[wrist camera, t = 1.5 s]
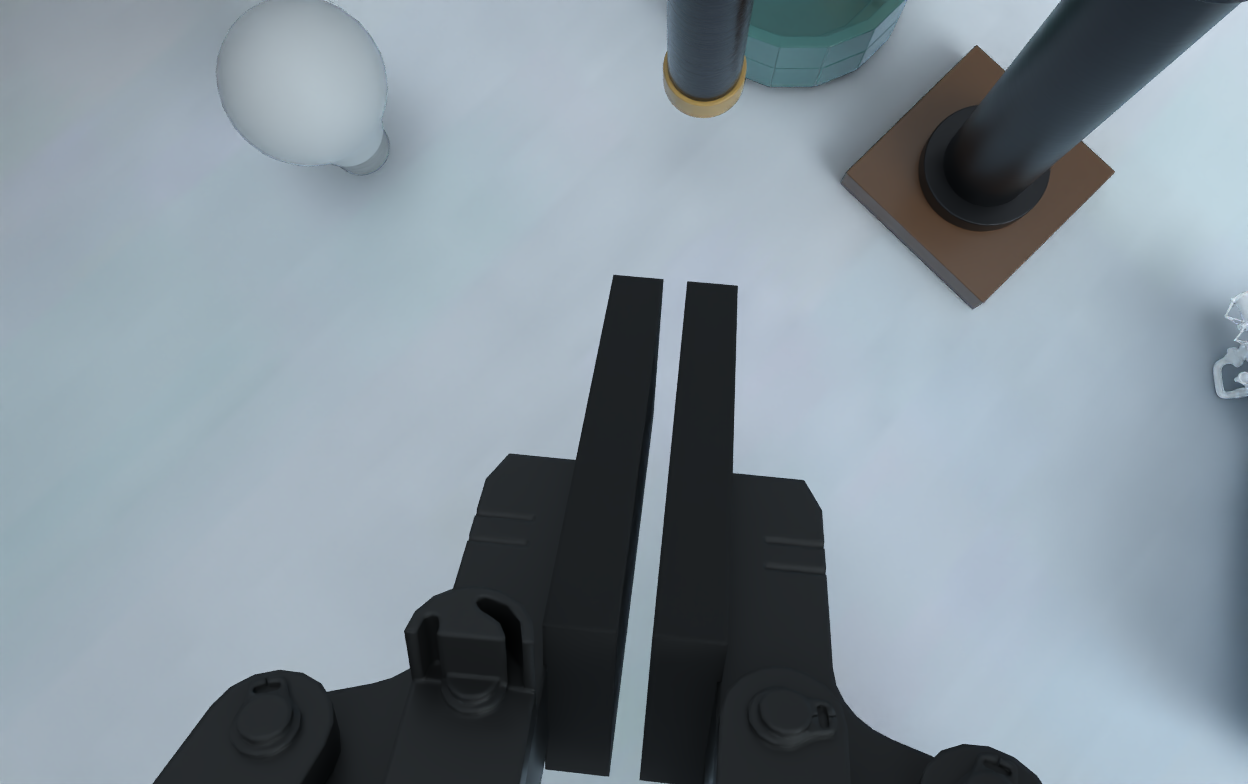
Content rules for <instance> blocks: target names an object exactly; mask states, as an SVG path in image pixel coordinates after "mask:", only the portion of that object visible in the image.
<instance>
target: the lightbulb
mask: <svg viewBox="0 0 1248 784" xmlns="http://www.w3.org/2000/svg"><path fill="white" fill-rule="evenodd" d="M216 77H217V87H218V92H219V96H220V99H221V102H222V105H223V108H224V110H225V112H226V113H227V115H228V117H229V119H230V121H231V122H232V124H233V126H234V128H235V129H236V130H237V131H238V132H239V133H240V135H241V136H242V137H243V138H244V139H245V140H246V141H247V142H249V143H250V144H251V145H252V146H254V147H255V148H256V149H258V150H259V151H260V152H262V153H263V154H265V155H267V156H269V157H271V158H274V159H276V160H279V161H283V162H286V163H290V164H294V165H298V166H318V165H325V164H330V163H331V164H333V165H337V166H340V167H341V168H343V169H345V170H346V171H347V172H349V173H351V174H355V175H367V174H370V173H373V172H375V171H376V170H378V169H379V168H380V167H381V166H382V165H383V164H384V163H385V161H386V159H387V157H388V154H389V149H390V145H389V140H388V136H387V135H386V132H385V130H384V129H383V123H382V117H383V113H384V110H385V107H386V103H387V92H388V87H387V78H386V70H385V65H384V62H383V59H382V56H381V53H380V51H379V49H378V47H377V46H376V44H375V42H374V40H373V39H372V37H371V36H370V34H369V33H368V32H367V30H366V29H365V28H364V27H363V26H362V25H361V24H360V23H359V21H357V20H356V19H355V18H353V17H352V16H350V15H349V14H348V13H346V12H345V11H344V10H342V9H341V8H339V7H337V6H335V5H333V4H331V3H329V2H326V1H324V0H267V1H264V2H261V3H259V4H257V5H256V6H254V7H252V8H250V9H249V10H247V11H246V12H245V13H244V14H243V15H242V16H240V17H239V18H238V19H237V21H236V22H235V23H234V24H233V25H232V27H231V28H230V29H229V31H228V33H227V35H226V37H225V39H224V40H223V42H222V45H221V48H220V51H219V54H218V58H217V67H216Z"/></svg>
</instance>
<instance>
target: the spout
mask: <svg viewBox="0 0 1248 784" xmlns="http://www.w3.org/2000/svg"><path fill="white" fill-rule="evenodd" d="M1199 1H1203V2H1208V3H1216V4H1231V3H1240V2H1245V1H1248V0H1199ZM753 3H754V0H667V52H666V54H665V57H664V63H663V82H664V88H665V92H666V94H667V96H668V98H669V100H670V101H671V103H672V104H673V105H674V106H675V107H676V108H677V109H678V110H680V111H681V112H683V113H685V114H687V115H689V116H692V117H697V118H710V117H715V116H718V115H720V114H722V113H724V112H726V111H727V110H729V109H730V108H731V107H732V106H733V105H734V104H735V103H736V102H737V101H738V99H739V97H740V95H741V93H742V90H743V87H744V82H745V76H746V70H747V63H746V57H745V50H746V44H747V38H748V33H749V27H750V21H751V15H752V9H753Z"/></svg>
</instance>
